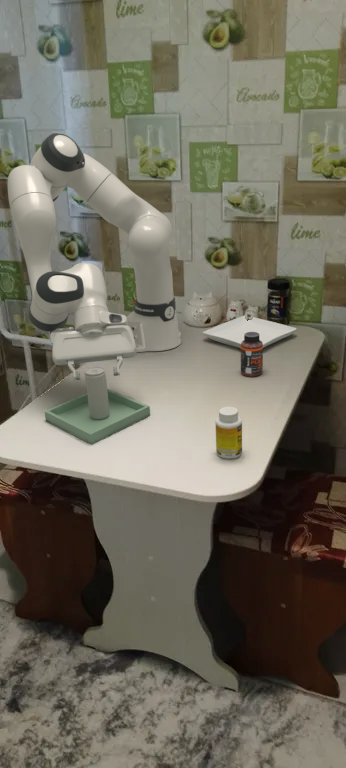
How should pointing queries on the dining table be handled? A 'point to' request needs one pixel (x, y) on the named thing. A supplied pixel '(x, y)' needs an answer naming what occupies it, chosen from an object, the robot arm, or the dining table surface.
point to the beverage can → (97, 393)
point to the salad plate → (238, 327)
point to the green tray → (83, 426)
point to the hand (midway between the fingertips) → (97, 377)
